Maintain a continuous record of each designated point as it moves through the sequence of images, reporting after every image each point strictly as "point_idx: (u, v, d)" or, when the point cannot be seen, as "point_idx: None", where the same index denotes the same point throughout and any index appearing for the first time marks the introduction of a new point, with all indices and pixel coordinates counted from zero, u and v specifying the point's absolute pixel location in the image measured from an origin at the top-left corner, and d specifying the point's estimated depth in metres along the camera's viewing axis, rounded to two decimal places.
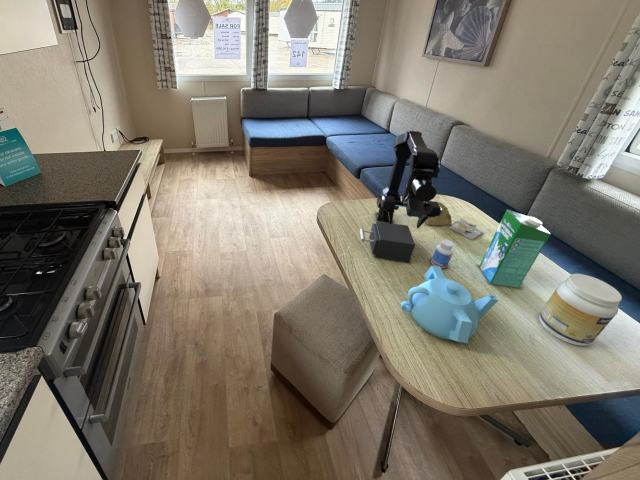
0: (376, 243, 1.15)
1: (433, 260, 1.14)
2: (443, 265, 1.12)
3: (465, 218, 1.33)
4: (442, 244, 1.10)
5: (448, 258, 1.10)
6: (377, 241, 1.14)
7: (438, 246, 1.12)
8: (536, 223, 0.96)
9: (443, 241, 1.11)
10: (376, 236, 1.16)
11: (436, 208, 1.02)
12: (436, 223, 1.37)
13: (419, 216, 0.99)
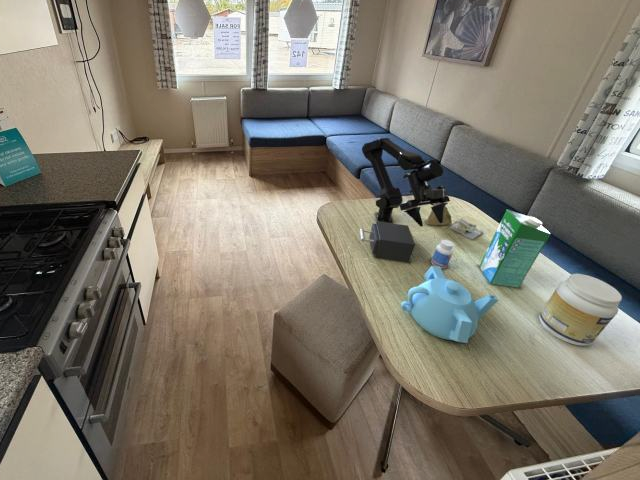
0: (376, 243, 1.15)
1: (433, 260, 1.14)
2: (443, 265, 1.12)
3: (465, 218, 1.33)
4: (442, 244, 1.10)
5: (448, 258, 1.10)
6: (377, 241, 1.14)
7: (438, 246, 1.12)
8: (536, 223, 0.96)
9: (443, 241, 1.11)
10: (376, 236, 1.16)
11: (443, 195, 1.18)
12: (436, 223, 1.37)
13: (442, 196, 1.11)
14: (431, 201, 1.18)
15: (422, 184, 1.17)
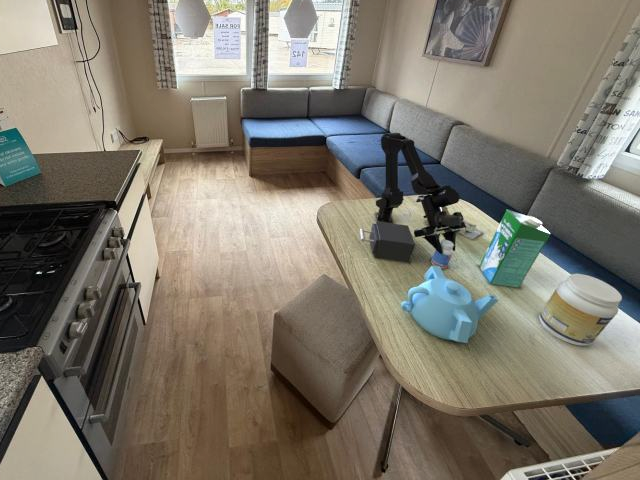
0: (376, 243, 1.15)
1: (433, 260, 1.14)
2: (443, 265, 1.12)
3: (465, 218, 1.33)
4: (442, 244, 1.10)
5: (448, 258, 1.10)
6: (377, 241, 1.14)
7: None
8: (536, 223, 0.96)
9: (443, 241, 1.11)
10: (376, 236, 1.16)
11: None
12: None
13: (459, 223, 1.06)
14: None
15: (437, 210, 1.12)
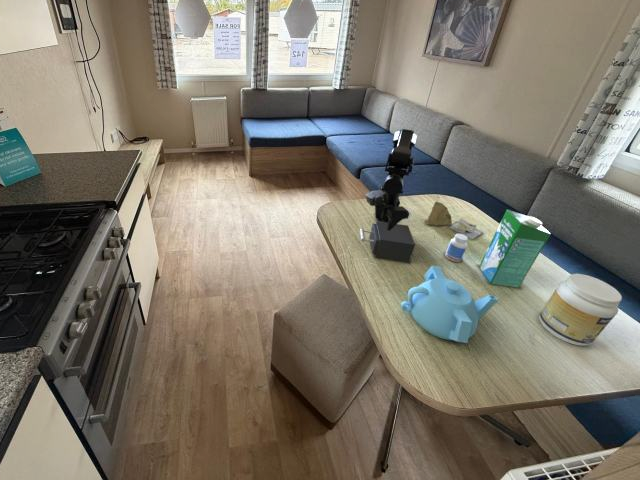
0: (376, 243, 1.15)
1: (449, 255, 1.17)
2: (459, 258, 1.15)
3: (465, 218, 1.33)
4: (458, 239, 1.13)
5: (464, 251, 1.14)
6: (377, 241, 1.14)
7: (453, 241, 1.15)
8: (536, 223, 0.96)
9: (457, 235, 1.14)
10: (376, 236, 1.16)
11: (393, 209, 1.05)
12: (436, 223, 1.37)
13: (369, 203, 1.10)
14: None
15: None
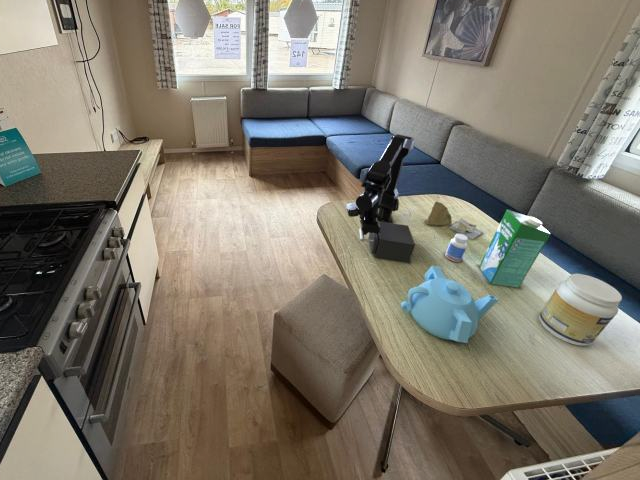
0: (375, 243, 1.15)
1: (449, 255, 1.17)
2: (459, 258, 1.15)
3: (465, 218, 1.33)
4: (458, 239, 1.13)
5: (464, 251, 1.14)
6: (376, 241, 1.14)
7: (453, 241, 1.15)
8: (536, 223, 0.96)
9: (457, 235, 1.14)
10: (375, 236, 1.16)
11: (364, 222, 1.10)
12: (436, 223, 1.37)
13: (348, 214, 1.17)
14: (368, 219, 1.14)
15: None
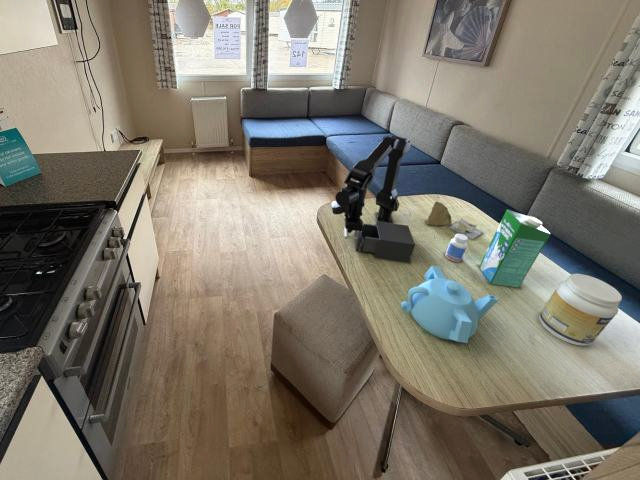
0: (359, 240, 1.16)
1: (449, 255, 1.17)
2: (459, 258, 1.15)
3: (465, 218, 1.33)
4: (458, 239, 1.13)
5: (464, 251, 1.14)
6: (360, 238, 1.15)
7: (453, 241, 1.15)
8: (536, 223, 0.96)
9: (457, 235, 1.14)
10: (359, 234, 1.17)
11: (348, 220, 1.11)
12: (436, 223, 1.37)
13: None
14: (352, 217, 1.15)
15: None
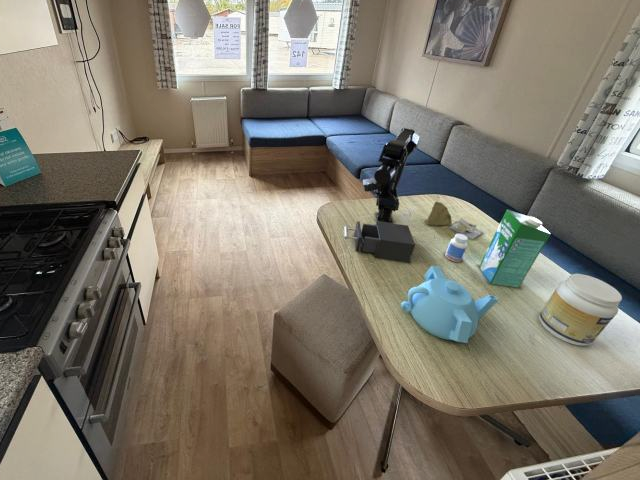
0: (359, 240, 1.16)
1: (449, 255, 1.17)
2: (459, 258, 1.15)
3: (465, 218, 1.33)
4: (458, 239, 1.13)
5: (464, 251, 1.14)
6: (360, 238, 1.15)
7: (453, 241, 1.15)
8: (536, 223, 0.96)
9: (457, 235, 1.14)
10: (359, 234, 1.17)
11: (381, 196, 1.15)
12: (436, 223, 1.37)
13: (364, 189, 1.21)
14: (383, 194, 1.19)
15: None
